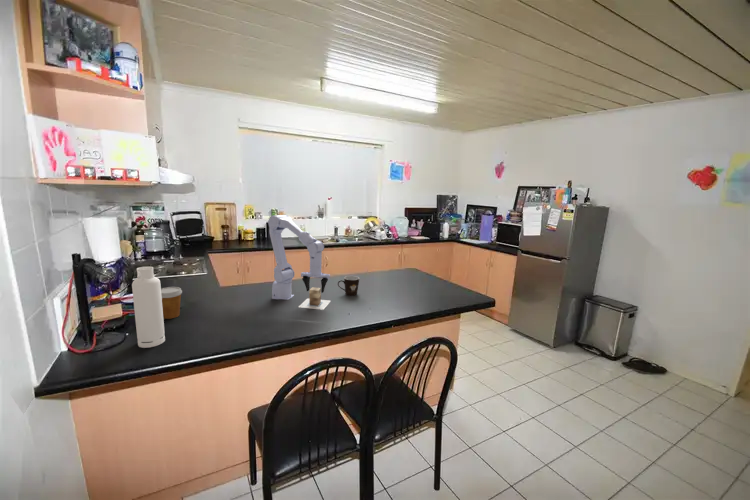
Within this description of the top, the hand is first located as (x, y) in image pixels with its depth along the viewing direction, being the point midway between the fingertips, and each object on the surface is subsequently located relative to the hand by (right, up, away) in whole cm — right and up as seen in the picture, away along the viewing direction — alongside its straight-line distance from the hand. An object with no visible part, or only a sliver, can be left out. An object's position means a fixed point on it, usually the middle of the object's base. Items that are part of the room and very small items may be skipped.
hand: (315, 291), depth 156 cm
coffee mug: (+15, -5, +19) cm, 25 cm away
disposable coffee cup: (-60, -8, -20) cm, 63 cm away
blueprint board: (0, -7, +1) cm, 7 cm away
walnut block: (0, -6, +1) cm, 7 cm away
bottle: (-52, -13, -43) cm, 68 cm away
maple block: (0, -3, 0) cm, 3 cm away
